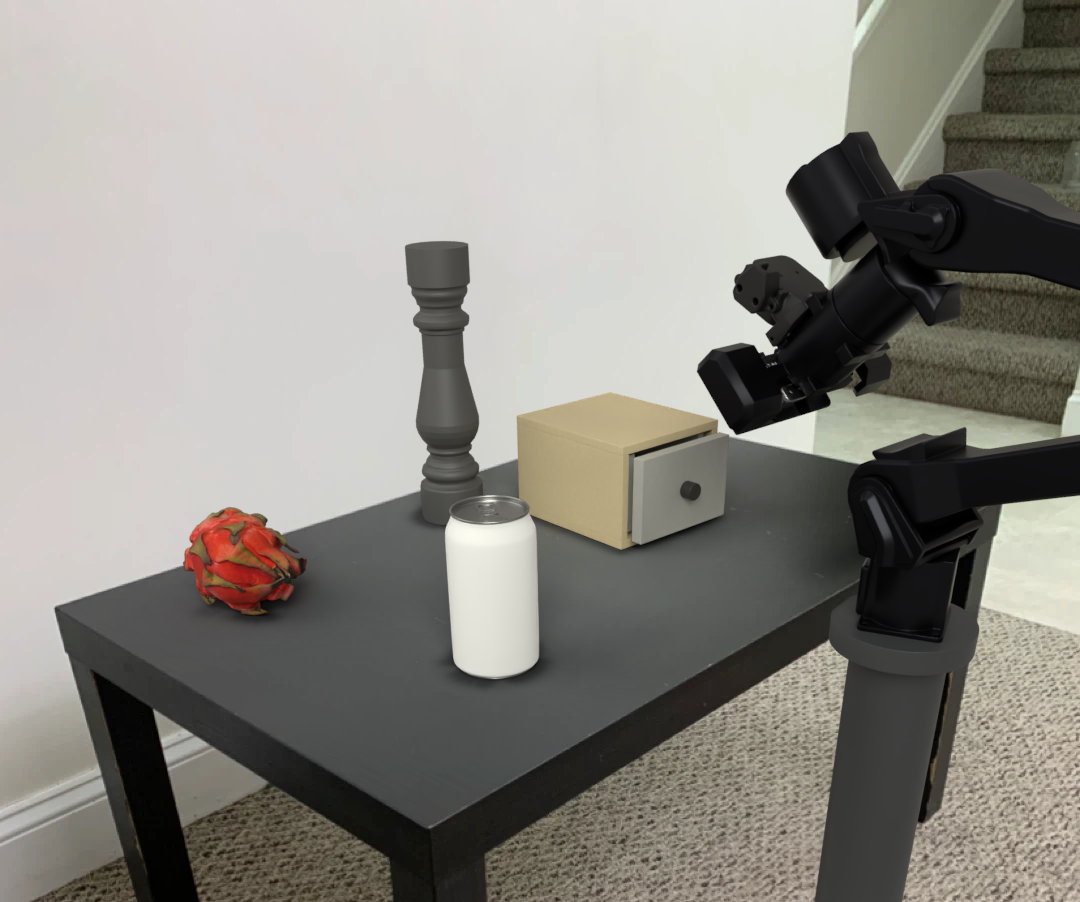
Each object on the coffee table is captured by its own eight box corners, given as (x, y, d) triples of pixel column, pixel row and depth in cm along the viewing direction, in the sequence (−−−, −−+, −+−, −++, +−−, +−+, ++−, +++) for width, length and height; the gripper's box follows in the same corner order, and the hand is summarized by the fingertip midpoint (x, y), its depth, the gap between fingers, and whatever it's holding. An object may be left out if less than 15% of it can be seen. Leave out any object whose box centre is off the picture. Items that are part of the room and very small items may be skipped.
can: (463, 687, 79) (453, 529, 72) (445, 648, 84) (435, 498, 78) (549, 674, 80) (546, 518, 74) (527, 637, 85) (522, 488, 79)
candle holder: (496, 510, 110) (485, 242, 98) (460, 529, 106) (444, 251, 93) (446, 500, 113) (429, 239, 100) (410, 518, 109) (387, 247, 96)
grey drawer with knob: (733, 517, 105) (739, 437, 101) (650, 548, 98) (653, 463, 94) (625, 482, 114) (626, 407, 110) (543, 508, 108) (541, 429, 104)
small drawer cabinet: (712, 516, 108) (718, 419, 103) (621, 550, 101) (623, 447, 96) (609, 482, 117) (610, 392, 112) (519, 510, 110) (516, 415, 105)
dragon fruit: (216, 594, 97) (299, 651, 91) (139, 567, 90) (223, 627, 84) (258, 509, 97) (345, 561, 90) (184, 475, 89) (272, 529, 83)
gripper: (881, 210, 87) (759, 334, 100) (725, 234, 76) (612, 368, 89) (952, 328, 86) (820, 438, 98) (804, 368, 75) (678, 485, 88)
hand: (735, 429), depth 94 cm, fingers closed
